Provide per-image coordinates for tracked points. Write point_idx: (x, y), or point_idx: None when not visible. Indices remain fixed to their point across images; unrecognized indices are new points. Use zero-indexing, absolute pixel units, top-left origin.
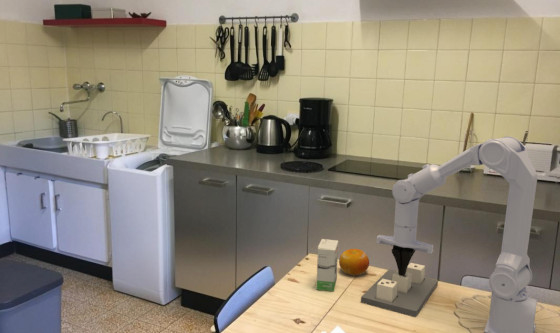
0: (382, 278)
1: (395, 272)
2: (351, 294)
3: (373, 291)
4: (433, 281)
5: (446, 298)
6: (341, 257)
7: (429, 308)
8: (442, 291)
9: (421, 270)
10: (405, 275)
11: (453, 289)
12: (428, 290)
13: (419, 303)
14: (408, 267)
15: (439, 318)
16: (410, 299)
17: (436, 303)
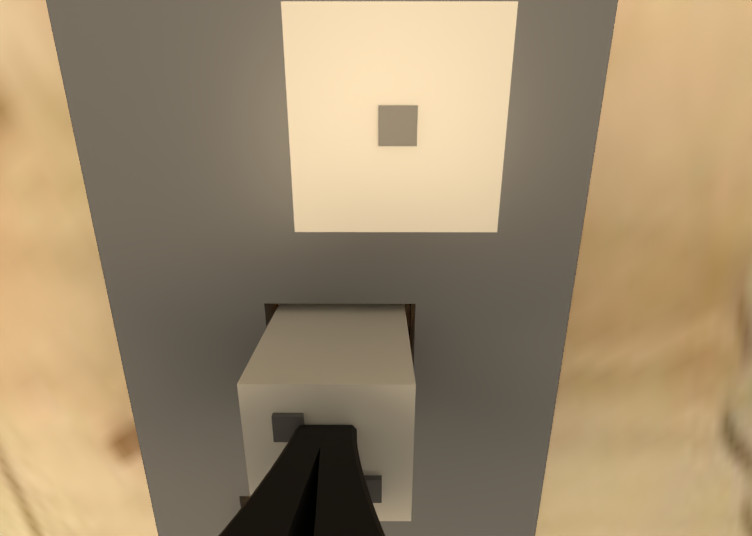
0: (126, 276)
1: (248, 448)
2: (86, 517)
3: (196, 516)
4: (576, 54)
5: (678, 246)
6: None
7: (570, 450)
8: (644, 124)
9: (497, 214)
10: (372, 480)
11: (747, 9)
12: (555, 298)
13: (524, 522)
14: (319, 224)
15: (637, 527)
16: (456, 501)
17: (608, 365)
